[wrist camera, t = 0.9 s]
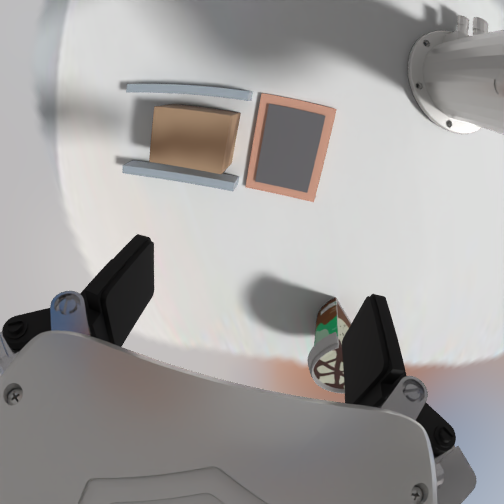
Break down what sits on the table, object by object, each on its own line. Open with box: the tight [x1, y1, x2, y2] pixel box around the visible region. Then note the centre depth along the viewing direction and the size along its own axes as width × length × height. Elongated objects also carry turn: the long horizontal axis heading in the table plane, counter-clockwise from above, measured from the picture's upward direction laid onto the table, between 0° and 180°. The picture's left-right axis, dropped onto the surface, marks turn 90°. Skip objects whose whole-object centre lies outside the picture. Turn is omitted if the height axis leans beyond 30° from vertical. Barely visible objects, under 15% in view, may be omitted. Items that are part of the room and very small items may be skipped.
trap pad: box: [246, 93, 336, 202], centre depth 30 cm, size 11×8×1 cm
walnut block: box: [149, 104, 241, 174], centre depth 28 cm, size 6×8×5 cm
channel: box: [123, 84, 253, 191], centre depth 29 cm, size 11×14×2 cm
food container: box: [308, 298, 352, 393], centre depth 38 cm, size 12×6×10 cm, turn 35°
